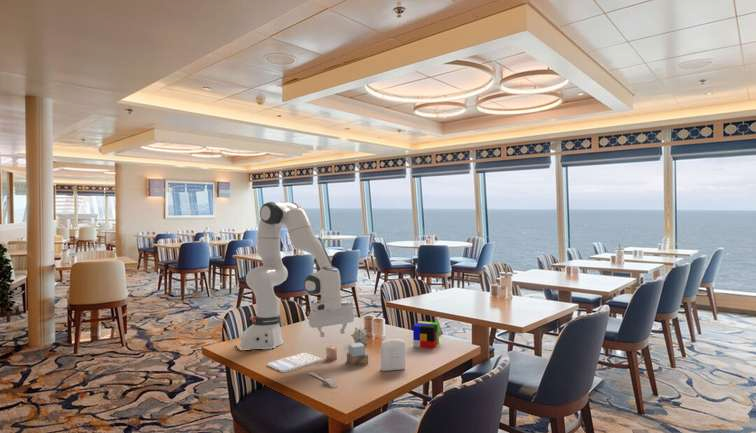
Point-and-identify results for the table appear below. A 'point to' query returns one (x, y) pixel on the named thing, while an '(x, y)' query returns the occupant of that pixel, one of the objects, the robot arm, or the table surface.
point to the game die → (360, 336)
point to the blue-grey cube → (356, 349)
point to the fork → (324, 379)
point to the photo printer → (392, 354)
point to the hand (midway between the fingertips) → (332, 334)
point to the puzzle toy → (425, 334)
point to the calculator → (294, 362)
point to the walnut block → (357, 360)
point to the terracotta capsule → (331, 353)
